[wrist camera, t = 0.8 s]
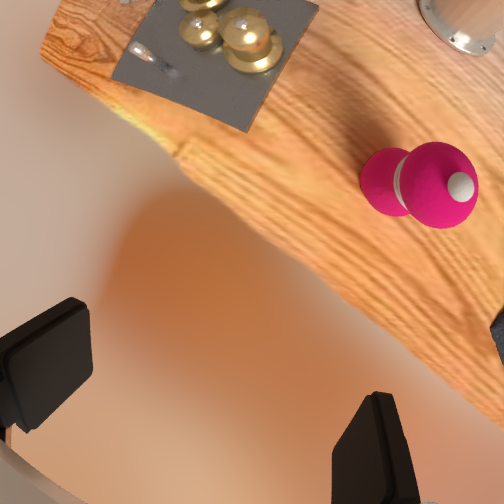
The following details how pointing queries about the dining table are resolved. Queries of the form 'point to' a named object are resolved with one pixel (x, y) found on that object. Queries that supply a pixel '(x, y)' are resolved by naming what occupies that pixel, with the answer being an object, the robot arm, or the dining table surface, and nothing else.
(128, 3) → the planet gear
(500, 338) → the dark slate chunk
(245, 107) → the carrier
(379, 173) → the pepper mill
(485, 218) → the dining table surface
